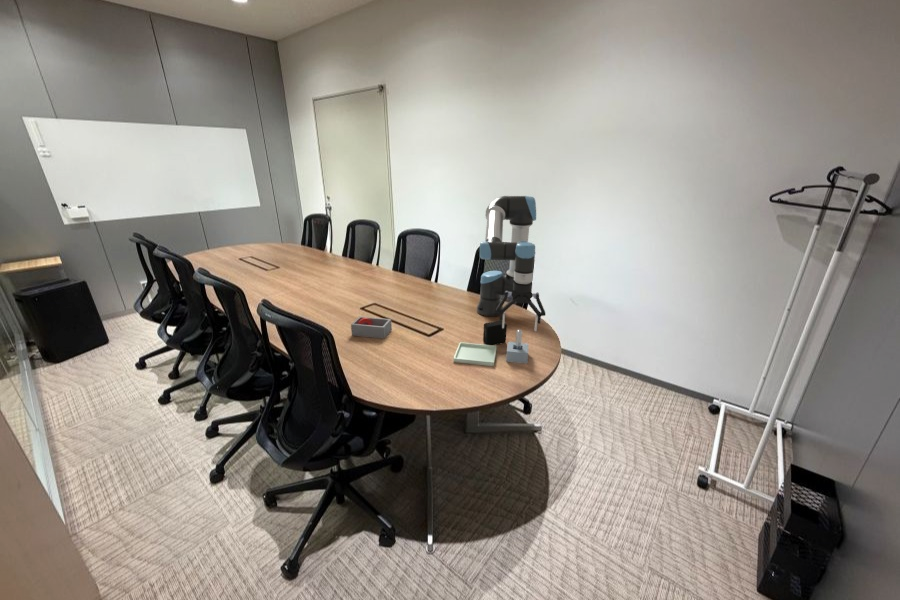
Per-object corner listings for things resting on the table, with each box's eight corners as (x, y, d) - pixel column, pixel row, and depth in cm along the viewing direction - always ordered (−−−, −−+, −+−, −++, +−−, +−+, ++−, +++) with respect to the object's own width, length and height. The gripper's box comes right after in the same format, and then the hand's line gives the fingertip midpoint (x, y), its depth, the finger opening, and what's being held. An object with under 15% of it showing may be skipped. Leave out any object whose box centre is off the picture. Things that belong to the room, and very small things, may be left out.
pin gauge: (514, 353, 161) (516, 329, 156) (520, 354, 160) (522, 329, 156) (514, 356, 158) (516, 331, 154) (519, 357, 158) (522, 332, 154)
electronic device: (482, 342, 173) (483, 323, 169) (501, 339, 176) (502, 320, 173) (486, 346, 169) (487, 326, 166) (505, 342, 173) (507, 323, 169)
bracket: (361, 337, 179) (360, 322, 176) (358, 333, 182) (357, 319, 179) (384, 331, 184) (383, 317, 182) (381, 328, 188) (380, 314, 185)
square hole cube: (507, 351, 165) (507, 341, 163) (527, 353, 163) (528, 343, 161) (506, 361, 156) (506, 351, 155) (527, 363, 155) (528, 353, 153)
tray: (459, 345, 170) (459, 342, 169) (496, 349, 167) (496, 345, 166) (453, 361, 156) (453, 358, 155) (493, 366, 153) (493, 362, 152)
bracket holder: (360, 327, 188) (359, 316, 186) (391, 330, 185) (391, 319, 183) (352, 335, 179) (350, 324, 177) (384, 338, 176) (383, 327, 174)
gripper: (491, 282, 146) (489, 329, 154) (555, 286, 141) (549, 335, 149) (493, 276, 153) (490, 322, 161) (554, 280, 148) (548, 327, 156)
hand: (519, 328), depth 155 cm, fingers open, 13 cm apart
